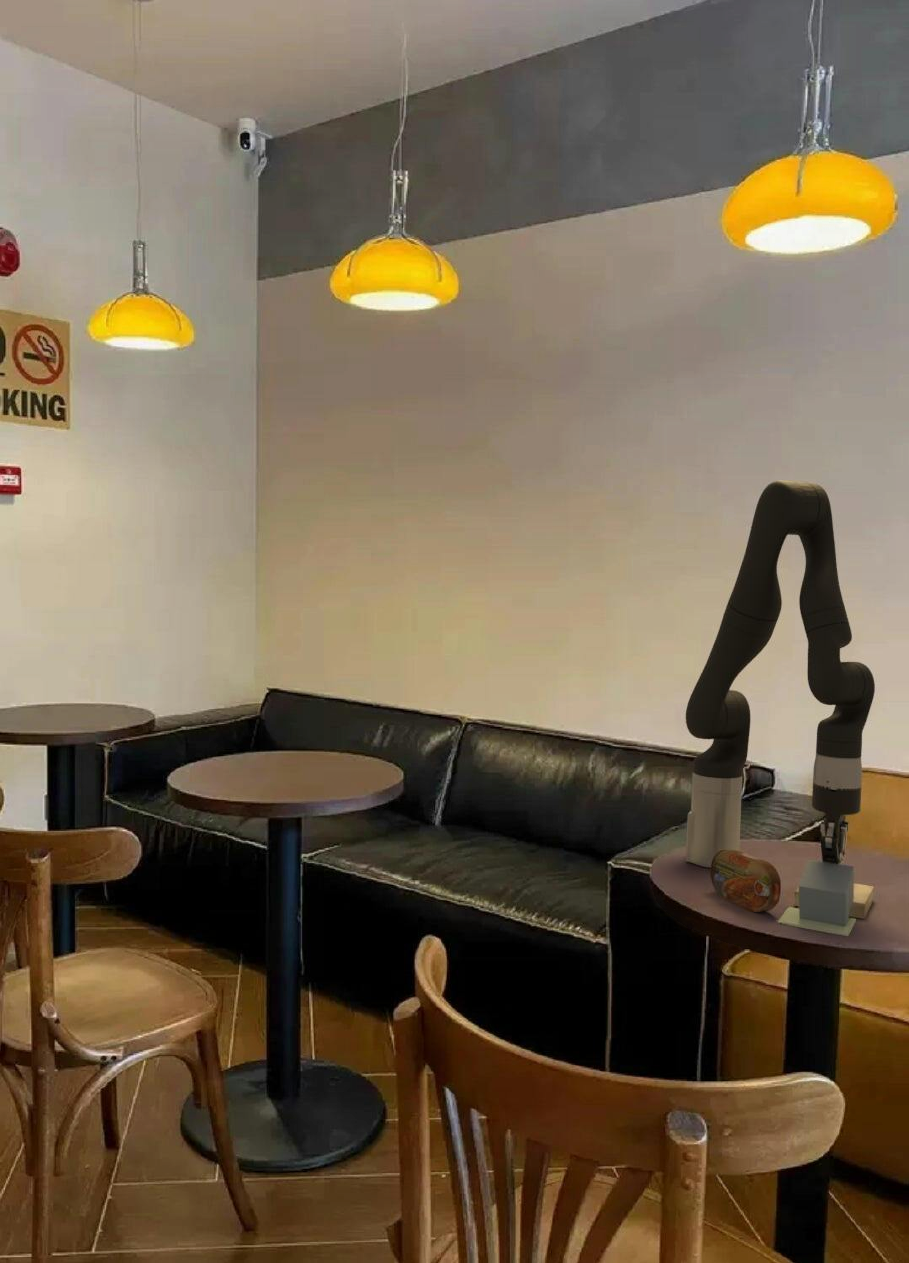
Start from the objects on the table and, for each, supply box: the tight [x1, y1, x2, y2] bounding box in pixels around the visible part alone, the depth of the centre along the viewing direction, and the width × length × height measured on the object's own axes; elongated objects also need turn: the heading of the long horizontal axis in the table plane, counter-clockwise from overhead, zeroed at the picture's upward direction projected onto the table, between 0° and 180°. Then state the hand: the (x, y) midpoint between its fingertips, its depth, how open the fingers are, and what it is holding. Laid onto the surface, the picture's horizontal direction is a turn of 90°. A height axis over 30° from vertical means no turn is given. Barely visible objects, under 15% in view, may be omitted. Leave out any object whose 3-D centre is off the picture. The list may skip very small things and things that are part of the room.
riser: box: [793, 883, 875, 920], centre depth 170 cm, size 11×11×2 cm
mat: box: [777, 906, 857, 937], centre depth 161 cm, size 10×8×1 cm
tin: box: [709, 850, 782, 913], centre depth 169 cm, size 15×3×8 cm, turn 24°
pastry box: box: [798, 859, 855, 927], centre depth 162 cm, size 7×8×6 cm
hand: (832, 885), depth 167 cm, fingers closed
